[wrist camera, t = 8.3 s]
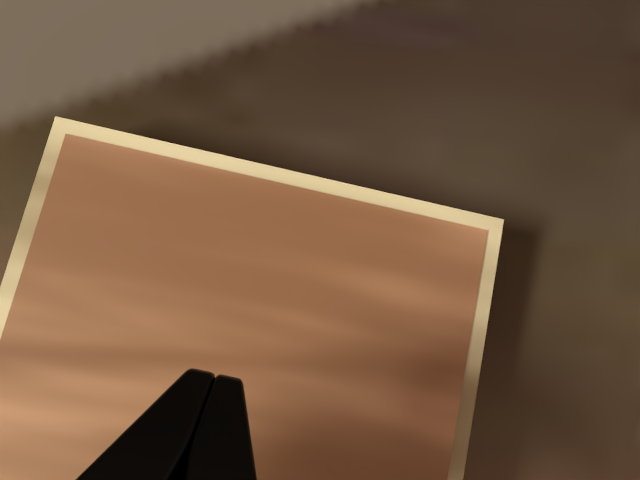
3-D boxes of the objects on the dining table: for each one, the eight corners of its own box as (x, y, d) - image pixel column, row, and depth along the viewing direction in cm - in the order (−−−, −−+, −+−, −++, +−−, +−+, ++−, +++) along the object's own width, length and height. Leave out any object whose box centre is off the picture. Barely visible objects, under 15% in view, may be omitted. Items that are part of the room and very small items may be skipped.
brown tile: (440, 630, 13) (504, 219, 15) (-78, 525, 13) (54, 115, 14) (413, 583, 15) (471, 236, 17) (-19, 494, 15) (87, 148, 17)
